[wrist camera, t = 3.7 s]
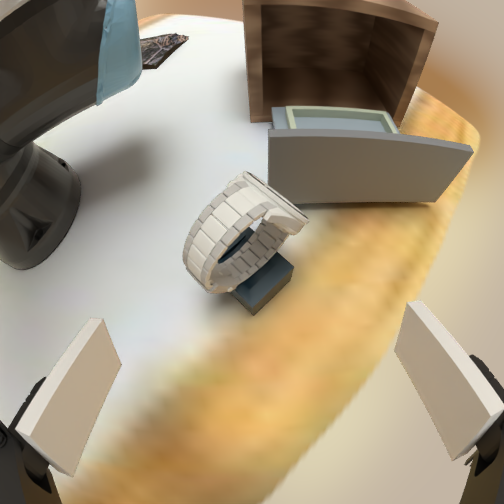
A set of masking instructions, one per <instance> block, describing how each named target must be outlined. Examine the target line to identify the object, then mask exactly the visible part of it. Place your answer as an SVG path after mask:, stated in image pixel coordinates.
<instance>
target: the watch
mask: <svg viewBox="0 0 504 504" xmlns="http://www.w3.org/2000/svg"><path fill="white" fill-rule="evenodd" d="M226 187H227V189H226V190H224V191H223V194H222V193H220V194H219V195H218V196H217V197H216V198H215V199H214V200H213V201H212V202H211V203H210V205H208V206H207V207H206V208H205V209H204V210H203V212H202V213H201V214H200V216H199V217H198V219H197V220H196V221H195V223H194V224H193V226H192V228H191V230H190V232H189V233H190V234H189V235H188V237H187V239H186V242H185V245H184V249H183V262H184V264H185V266H186V270H187V271H188V272H189V273H190V275H191V276H192V277H193V278H194V279H195V280H196V281H197V282H198V283H199V285H200V286H201V287H203V288H204V289H205V290H206V291H207V292H208V293H225V292H230V293H231V294H232V295H233V296H234V297H235V298H236V299H237V300H238V301H239V302H240V303H241V304H242V305H243V306H244V307H245V308H246V309H247V310H248V311H249V312H250V313H251V314H252V315H253V316H254V315H255V314H256V313H257V312H258V311H259V310H260V309H261V308H262V307H263V306H264V305H265V304H266V303H267V302H268V301H269V300H271V299H272V298H273V297H274V296H275V295H276V294H277V293H278V292H279V291H280V290H281V289H282V288H283V287H284V286H285V285H286V284H287V283H288V282H289V281H290V279H291V276H292V273H293V269H294V266H292V265H291V264H290V263H289V262H288V261H287V260H286V259H285V258H284V257H282V256H281V255H280V254H279V253H278V252H277V251H276V250H278V249H279V248H280V247H281V246H282V244H283V243H284V241H285V240H286V239H287V237H288V236H289V234H291V235H296V234H297V233H298V232H299V231H300V230H301V229H302V228H303V226H304V224H305V223H306V224H307V223H308V222H309V219H308V218H307V217H306V216H305V215H304V214H303V213H302V212H301V211H300V210H299V209H298V208H297V207H295V206H294V205H293V204H292V203H290V202H289V201H288V200H287V199H285V198H284V197H283V196H282V195H280V194H279V193H278V192H276V191H275V190H274V189H273V188H271V187H270V186H269V185H267V184H266V183H264V182H263V181H262V180H260V179H259V178H257V177H256V176H254V175H253V174H251V173H249V172H247V171H244V172H243V173H242V174H239V175H238V176H237V177H236V178H235V179H234V180H232V181H230V182H229V184H228V185H227V186H226ZM213 208H214V209H215V210H214V209H213ZM260 217H263V219H262V223H260V224H259V226H258V228H257V229H256V232H254V231H253V230H252V229H251V228H250V227H249V226H250V225H251V224H252V223H253V221H256V220H257V219H259V218H260ZM216 218H217V219H218V220H219V221H220V222H221V223H222V224H223V225H224V226H225V227H226V228H225V227H224V226H223V225H222V224H221V223H220V222H219V221H218V220H217V219H216ZM258 234H259V235H258Z"/></svg>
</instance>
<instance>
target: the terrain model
mask: <svg viewBox="0 0 504 504" xmlns="http://www.w3.org/2000/svg"><path fill="white" fill-rule="evenodd" d="M188 37H189V36H188ZM188 37H187V36H184V35H177V34H176V33H175V34H166V35H161V36H156V37H151V38H146V39H140V45H141V54H142V70H143V69H157V68H158V67H159V66H160V65H161V64H162V63H163V62H164V61H165V60H166V59H167V58H168V57H169V56H170V55H171V54H172V53H173V52H174V51H175V50H176V49H178V48H179V47H180V46H181V45H182V44H183V43H185V42H186V41H187V40H188Z"/></svg>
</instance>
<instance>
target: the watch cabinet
mask: <svg viewBox="0 0 504 504" xmlns="http://www.w3.org/2000/svg"><path fill="white" fill-rule="evenodd" d="M242 5H243V22H244V38H245V53H246V69H247V82H248V94H249V107H250V120H251V123H252V122H273V120H272V114H271V112H272V107H286V106H324V107H343V108H357V109H368V110H377V111H386V112H387V113H389V114H390V116H391V118H392V120H393V122H394V123H395V125H396V127H399V126H400V124H401V122H402V120H403V117H404V115H405V113H406V110H407V108H408V105H409V103H410V101H411V98H412V96H413V93H414V91H415V88H416V86H417V83H418V81H419V78H420V75H421V73H422V70H423V67H424V65H425V62H426V59H427V57H428V54H429V51H430V48H431V45H432V42H433V39H434V36H435V33H436V30H437V27H438V24H439V23H438V22H437V21H436V20H434V19H433V18H431V17H430V16H429V15H427V14H426V13H424V12H423V11H421V10H420V9H418V8H417V7H415V6H413V5H412V4H410V3H409V2H407V1H405V0H242Z"/></svg>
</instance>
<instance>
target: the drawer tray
mask: <svg viewBox="0 0 504 504" xmlns="http://www.w3.org/2000/svg"><path fill="white" fill-rule="evenodd" d="M271 114H272V120H273V126H274V129H268V185H269V186H270V187H271V188H273V189H274V190H275V191H276V192H278V193H279V194H280V195H282V196H283V197H284V198H285V199H287V200H288V201H289V202H290V203H292V204H306V203H337V202H436V201H437V199H438V198H439V197H440V196H441V194H442V193H443V192H444V191H445V190H446V188H447V187H448V186H449V185H450V183H451V182H452V181H453V179H454V178H455V177H456V176H457V174H458V173H459V172H460V170H461V169H462V168H463V166H464V165H465V164H466V162H467V161H468V160H469V158H470V157H471V156H472V154H473V153H474V152H473V150H472V148H471V146H470V145H466V144H461V143H456V142H451V141H445V140H439V139H433V138H427V137H420V136H412V135H404V134H400V133H399V131H398V129H397V127H396V125H395V123H394V122H393V120H392V118H391V116H390V114H389V113H387V112H386V111H377V110H368V109H357V108H343V107H324V106H286V107H272V112H271Z"/></svg>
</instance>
